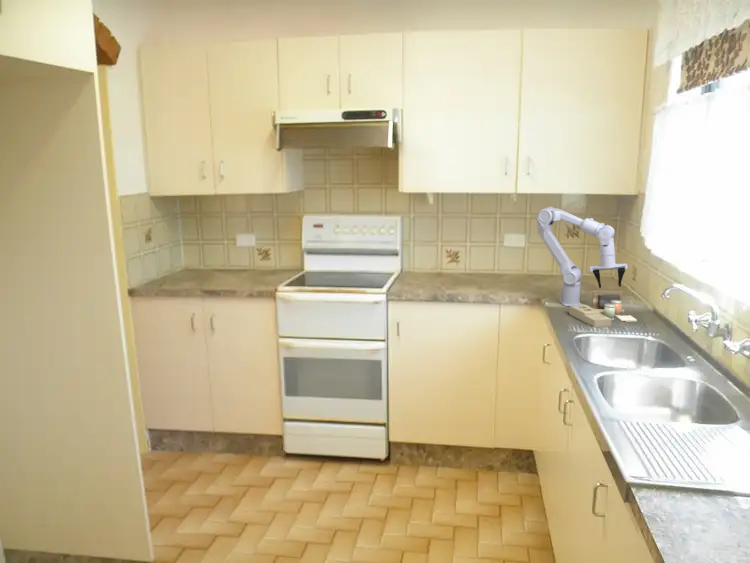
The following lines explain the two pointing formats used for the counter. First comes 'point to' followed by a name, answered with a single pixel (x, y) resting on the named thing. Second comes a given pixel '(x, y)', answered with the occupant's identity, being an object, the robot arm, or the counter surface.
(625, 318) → the pad
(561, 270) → the robot arm
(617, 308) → the cylinder
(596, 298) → the junction unit
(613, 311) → the cylinder
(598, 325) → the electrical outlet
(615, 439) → the counter surface
